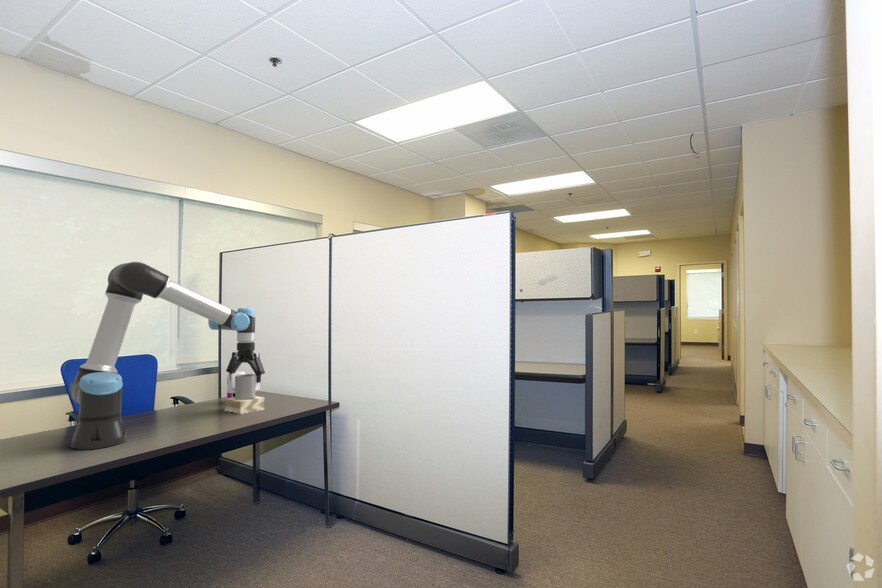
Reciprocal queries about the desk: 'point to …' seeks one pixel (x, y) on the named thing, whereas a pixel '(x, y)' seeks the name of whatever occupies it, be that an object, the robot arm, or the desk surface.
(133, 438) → the desk surface
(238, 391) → the cup
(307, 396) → the desk surface
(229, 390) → the supplement can
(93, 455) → the desk surface
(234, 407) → the birch block
